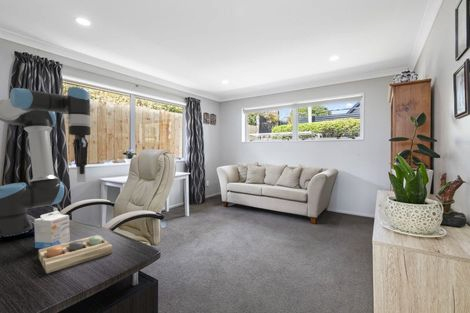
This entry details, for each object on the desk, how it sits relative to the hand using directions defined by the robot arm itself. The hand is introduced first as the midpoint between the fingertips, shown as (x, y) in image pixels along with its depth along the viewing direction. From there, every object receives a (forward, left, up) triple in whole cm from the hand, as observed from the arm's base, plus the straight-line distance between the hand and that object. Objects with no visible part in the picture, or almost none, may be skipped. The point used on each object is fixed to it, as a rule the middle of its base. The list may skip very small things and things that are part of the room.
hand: (81, 181), depth 98 cm
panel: (+11, -5, -26) cm, 29 cm away
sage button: (+11, +2, -25) cm, 27 cm away
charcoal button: (+11, -5, -25) cm, 28 cm away
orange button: (+11, -11, -25) cm, 29 cm away
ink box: (-8, -9, -27) cm, 29 cm away
